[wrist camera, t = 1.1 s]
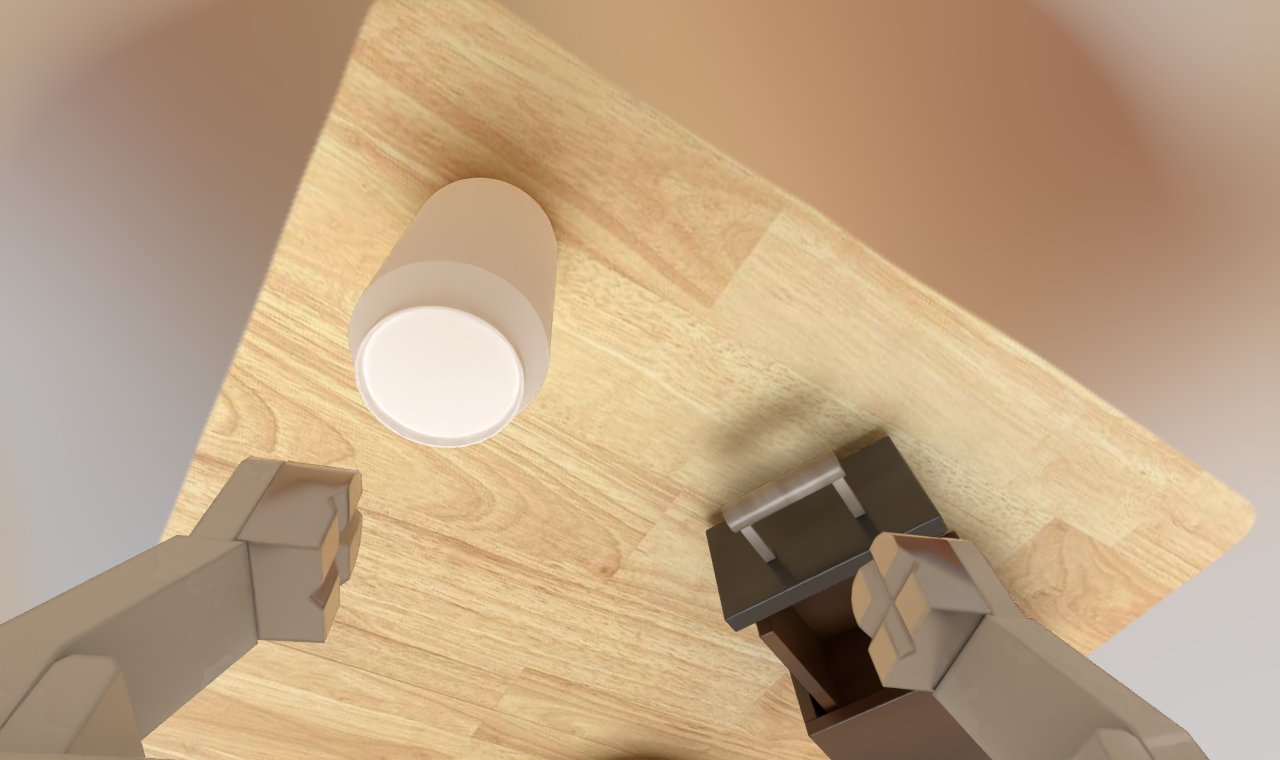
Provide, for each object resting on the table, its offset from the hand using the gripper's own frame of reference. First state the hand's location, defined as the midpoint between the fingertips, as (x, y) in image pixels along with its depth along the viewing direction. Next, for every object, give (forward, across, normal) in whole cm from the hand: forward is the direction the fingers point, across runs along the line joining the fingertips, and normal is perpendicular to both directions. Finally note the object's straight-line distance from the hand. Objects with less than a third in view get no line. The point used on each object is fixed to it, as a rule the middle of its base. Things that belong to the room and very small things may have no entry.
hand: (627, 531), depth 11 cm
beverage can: (+22, +4, +4) cm, 23 cm away
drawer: (+21, -16, +17) cm, 32 cm away
